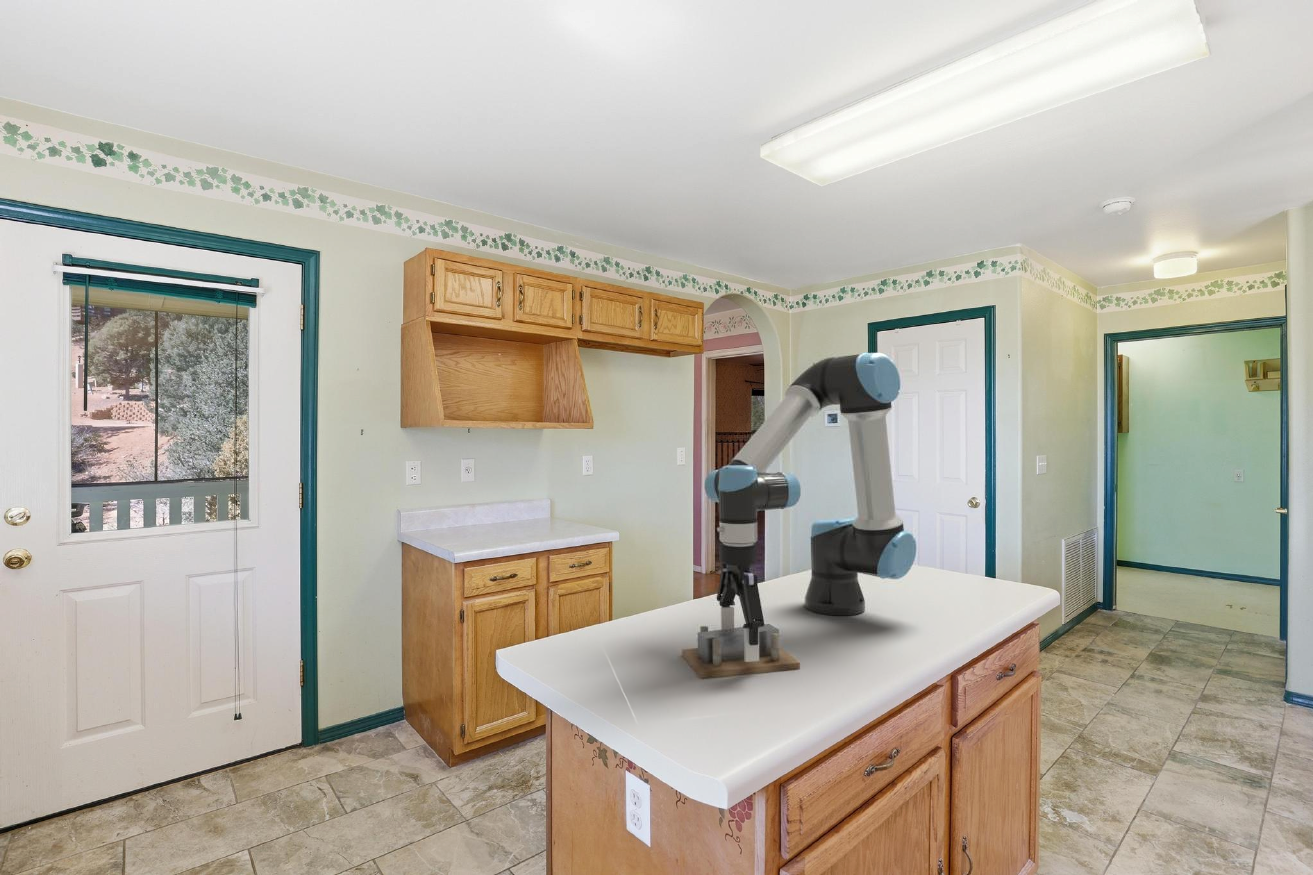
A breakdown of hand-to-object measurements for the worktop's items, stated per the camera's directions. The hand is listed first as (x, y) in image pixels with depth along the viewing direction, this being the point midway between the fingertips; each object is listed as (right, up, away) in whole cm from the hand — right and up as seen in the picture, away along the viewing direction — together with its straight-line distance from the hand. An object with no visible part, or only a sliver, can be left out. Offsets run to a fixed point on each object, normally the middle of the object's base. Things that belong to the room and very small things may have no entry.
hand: (739, 649), depth 128 cm
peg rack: (0, -3, 0) cm, 2 cm away
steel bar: (0, -1, 0) cm, 1 cm away
